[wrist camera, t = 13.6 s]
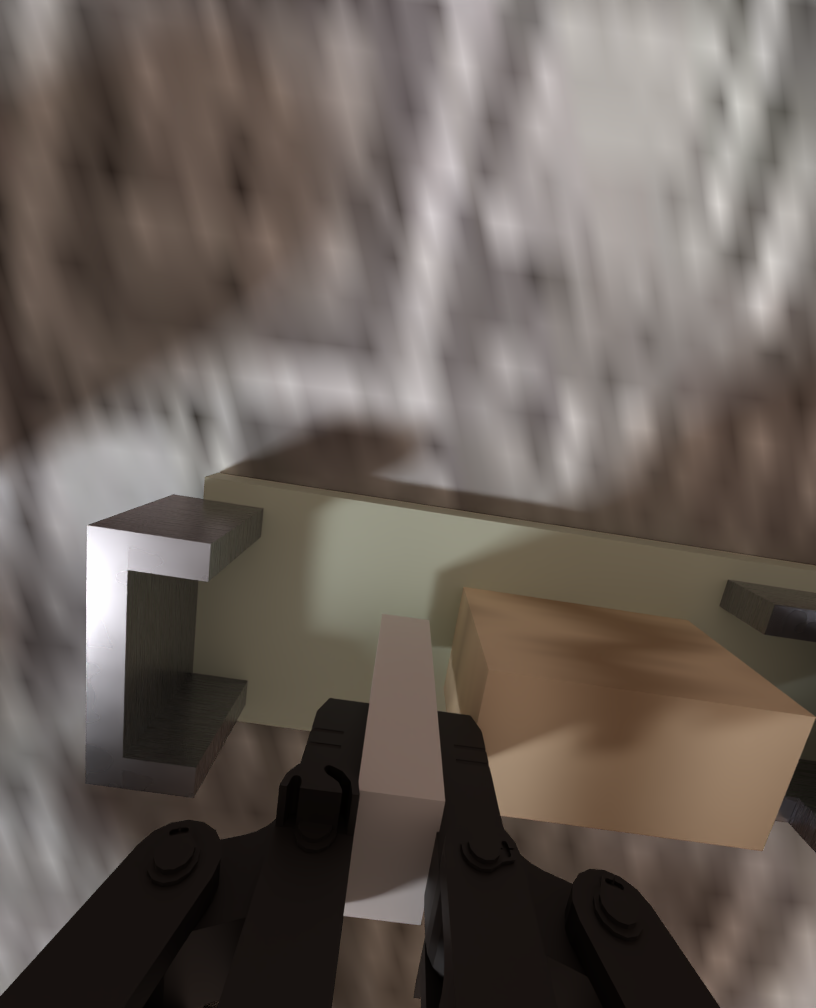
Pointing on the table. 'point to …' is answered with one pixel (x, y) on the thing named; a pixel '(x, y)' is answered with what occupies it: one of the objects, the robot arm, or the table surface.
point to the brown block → (622, 720)
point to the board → (442, 592)
